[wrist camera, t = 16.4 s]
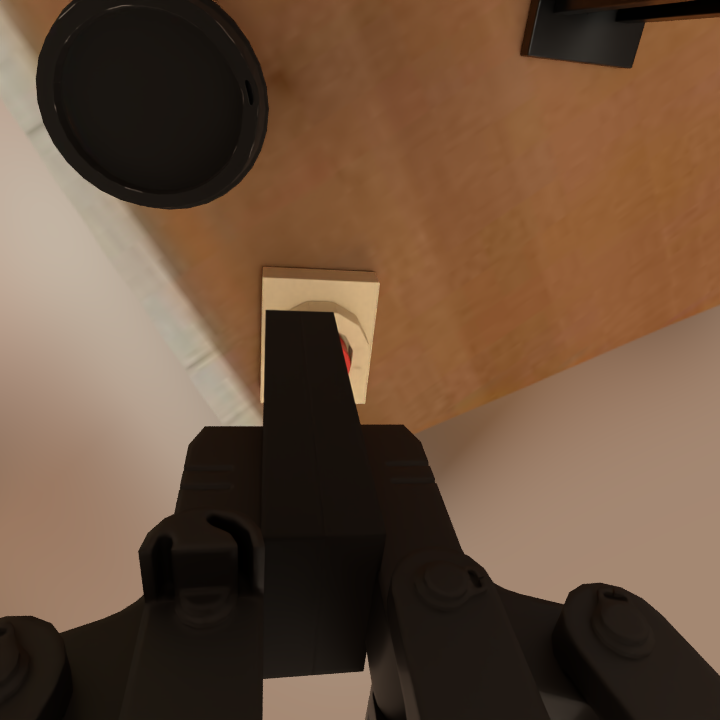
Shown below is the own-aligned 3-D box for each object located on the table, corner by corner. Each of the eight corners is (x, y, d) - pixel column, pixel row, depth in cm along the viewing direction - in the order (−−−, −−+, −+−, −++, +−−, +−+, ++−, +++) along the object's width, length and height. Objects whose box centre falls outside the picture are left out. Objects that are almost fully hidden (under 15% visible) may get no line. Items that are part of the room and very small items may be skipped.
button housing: (262, 266, 39) (262, 287, 35) (375, 271, 40) (384, 292, 37) (260, 387, 43) (259, 417, 40) (361, 389, 45) (368, 417, 41)
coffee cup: (282, 148, 35) (288, 205, 22) (148, 169, 35) (75, 241, 22) (252, -10, 31) (238, -53, 18) (99, 12, 30) (-28, -16, 18)
